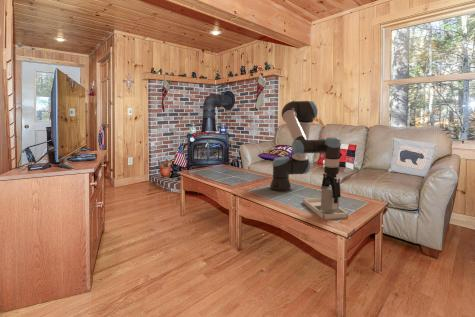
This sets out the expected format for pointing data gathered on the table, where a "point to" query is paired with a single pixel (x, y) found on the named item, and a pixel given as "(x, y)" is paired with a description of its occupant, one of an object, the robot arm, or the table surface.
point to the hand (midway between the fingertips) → (329, 205)
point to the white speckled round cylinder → (328, 199)
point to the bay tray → (316, 207)
